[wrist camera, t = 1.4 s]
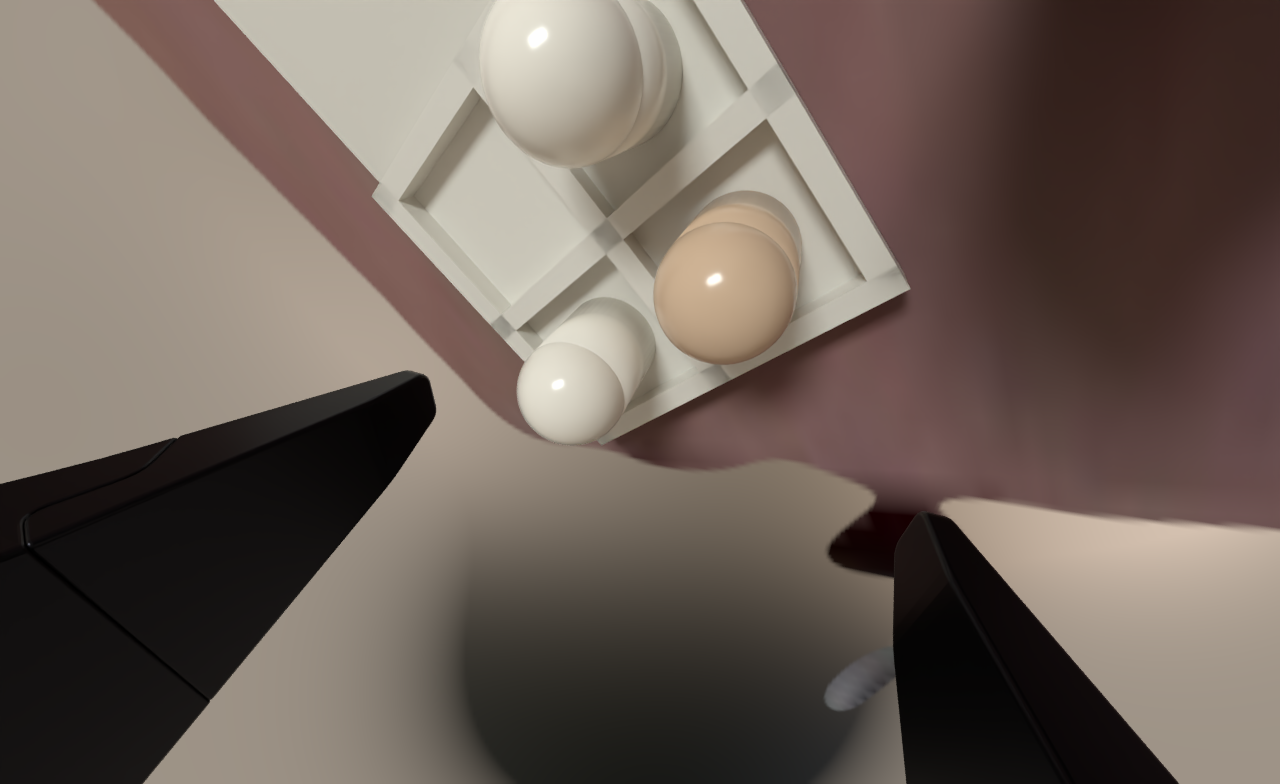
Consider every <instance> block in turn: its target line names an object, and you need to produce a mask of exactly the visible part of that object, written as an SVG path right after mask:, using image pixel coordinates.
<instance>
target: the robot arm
mask: <svg viewBox="0 0 1280 784" xmlns="http://www.w3.org/2000/svg"><path fill="white" fill-rule="evenodd" d="M435 414H436V404H435V400H434V396H433V392H432V388H431V384H430V380H429V379H428V377H427V376H425V375H424V374H420V373H417V372H413V371H402V372H398V373H395V374H392V375H388V376H384V377H381V378H378V379H374V380H371V381H367V382H364V383H360V384H357V385H353V386H350V387H347V388H343V389H340V390H337V391H333V392H330V393H326V394H323V395H319V396H316V397H312V398H309V399H306V400H302V401H299V402H295V403H292V404H289V405H285V406H282V407H278V408H275V409H272V410H268V411H264V412H261V413H258V414H254V415H251V416H247V417H244V418H240V419H237V420H233V421H230V422H227V423H224V424H220V425H216V426H213V427H209V428H206V429H203V430H199V431H196V432H192V433H189V434H185V435H182V436H180V437H179V438H178V439H177V438H172V439H168V440H164V441H161V442H158V443H154V444H151V445H148V446H144V447H140V448H137V449H133V450H130V451H126V452H122V453H119V454H115V455H112V456H108V457H105V458H102V459H97V460H94V461H90V462H86V463H82V464H78V465H74V466H70V467H66V468H62V469H59V470H55V471H51V472H47V473H43V474H39V475H35V476H31V477H27V478H23V479H18V480H15V481H10V482H6V483H3V484H0V784H143V783H144V782H145V780H146V779H147V778H148V777H149V776H150V774H151V773H152V772H153V771H154V769H155V768H156V767H157V766H158V765H159V763H160V762H161V761H162V760H163V759H164V757H165V756H166V755H167V754H168V753H169V751H170V750H171V749H172V748H173V746H174V745H175V744H176V743H177V741H178V740H179V739H180V738H181V737H182V735H183V734H184V733H185V732H186V731H187V729H188V728H189V727H190V726H191V725H192V723H193V722H194V721H195V720H196V719H197V717H198V716H199V715H200V714H201V712H202V711H203V710H204V709H205V708H206V706H207V705H208V704H209V703H210V700H211V699H212V698H213V697H214V696H215V695H216V694H217V693H218V691H219V690H220V689H221V688H222V686H223V685H224V684H225V683H226V682H227V680H228V679H229V678H230V677H231V676H232V674H233V673H234V672H235V671H236V669H237V668H238V667H239V666H240V665H241V663H242V662H243V661H244V660H245V659H246V657H247V656H248V655H249V654H250V653H251V651H252V650H253V649H254V647H256V645H257V644H258V643H259V642H260V641H261V639H262V638H263V637H264V636H265V634H266V633H267V632H268V631H269V630H270V628H271V627H272V626H273V625H274V624H275V622H276V621H277V620H278V619H279V617H280V616H281V615H282V614H283V613H284V611H285V610H286V609H287V608H288V607H289V605H290V604H291V603H292V602H293V600H294V599H295V598H296V597H297V596H298V594H299V593H300V592H301V591H302V590H303V588H304V587H305V586H306V585H307V584H308V582H309V581H310V580H311V579H312V578H313V576H314V575H315V574H316V573H317V571H318V570H319V569H320V568H321V567H322V565H323V564H324V563H325V562H326V560H327V559H328V558H329V557H330V555H331V554H332V553H333V552H334V551H335V550H336V548H337V547H338V546H339V545H340V544H341V542H342V541H343V540H344V539H345V538H346V536H347V535H348V534H349V533H350V531H351V530H352V529H353V528H354V527H355V525H356V524H357V523H358V522H359V521H360V519H361V518H362V517H363V516H364V515H365V513H366V512H367V511H368V509H369V508H370V507H371V506H372V505H373V504H374V502H375V501H376V500H377V499H378V498H379V496H380V495H381V494H382V493H383V491H384V490H385V489H386V488H387V486H388V485H389V484H390V483H391V481H392V480H393V479H394V477H395V476H396V474H397V473H398V472H399V470H400V469H401V467H402V466H403V464H404V463H405V461H406V460H407V458H408V457H409V455H410V454H411V452H412V451H413V449H414V448H415V446H416V445H417V443H418V442H419V440H420V439H421V437H422V436H423V434H424V433H425V431H426V430H427V428H428V427H429V425H430V424H431V422H432V421H433V419H434V417H435ZM893 651H894V665H895V675H896V685H897V694H898V704H899V714H900V723H901V733H902V744H903V754H904V764H905V774H906V783H907V784H1179V783H1178V782H1177V781H1176V779H1175V778H1174V777H1173V776H1172V775H1171V774H1170V772H1169V771H1168V770H1167V769H1166V768H1165V767H1164V765H1163V764H1162V763H1161V762H1160V761H1159V760H1158V758H1157V757H1156V756H1155V755H1154V754H1153V753H1152V751H1151V750H1150V749H1149V748H1148V747H1147V746H1146V745H1145V743H1144V742H1143V741H1142V740H1141V739H1140V738H1139V736H1138V735H1137V734H1136V733H1135V732H1134V731H1133V729H1132V728H1131V727H1130V726H1129V725H1128V724H1127V722H1126V721H1125V720H1124V719H1123V718H1122V717H1121V715H1120V714H1119V713H1118V712H1117V711H1116V710H1115V709H1114V707H1113V706H1112V705H1111V704H1110V703H1109V701H1108V700H1107V699H1106V698H1105V697H1104V696H1103V695H1102V693H1101V692H1100V691H1099V690H1098V689H1097V688H1096V686H1095V685H1094V684H1093V683H1092V682H1091V681H1090V679H1089V678H1088V677H1087V676H1086V675H1085V674H1084V672H1083V671H1082V670H1081V669H1080V668H1079V667H1078V665H1077V664H1076V663H1075V662H1074V661H1073V660H1072V659H1071V657H1070V656H1069V655H1068V654H1067V653H1066V652H1065V650H1064V649H1063V648H1062V647H1061V646H1060V645H1059V643H1058V642H1057V641H1056V640H1055V639H1054V638H1053V636H1052V635H1051V634H1050V633H1049V632H1048V631H1047V629H1046V628H1045V627H1044V626H1043V625H1042V624H1041V623H1040V621H1039V620H1038V619H1037V618H1036V617H1035V615H1034V614H1033V613H1032V612H1031V611H1030V610H1029V609H1028V607H1026V605H1025V604H1024V603H1023V602H1022V600H1020V598H1019V597H1018V596H1017V595H1016V594H1015V592H1014V591H1013V590H1012V589H1011V588H1010V586H1009V585H1008V584H1007V583H1006V582H1005V581H1004V580H1003V578H1002V577H1001V576H1000V575H999V574H998V572H997V571H996V570H995V569H994V568H993V567H992V566H991V564H990V563H989V562H988V561H987V560H986V559H985V557H984V556H983V555H982V554H981V553H980V552H979V550H978V549H977V548H976V547H975V546H974V545H973V543H972V542H971V541H970V540H969V539H968V538H967V536H966V535H965V534H964V533H963V532H962V531H961V529H960V528H959V527H958V526H957V525H956V524H955V523H954V522H953V521H952V520H951V519H950V518H948V517H945V516H941V515H938V514H934V513H930V512H927V511H922V512H919V513H918V514H917V515H916V516H915V517H914V519H913V520H912V522H911V523H910V525H909V526H908V528H907V529H906V531H905V532H904V534H903V535H902V537H901V538H900V539H899V541H898V543H897V546H896V549H895V562H894V611H893Z"/></svg>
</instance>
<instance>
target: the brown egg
mask: <svg viewBox="0 0 1280 784" xmlns="http://www.w3.org/2000/svg"><path fill="white" fill-rule="evenodd" d="M801 254H802V238H801V233H800V229H799V226H798V224H797V222H796V220H795V218H794V216H793V215H792V213H791V212H790V211H789V210H788V208H787V207H786V206H785V205H783V204H782V203H781V202H780V201H778V200H777V199H775V198H774V197H772V196H770V195H767V194H765V193H761V192H757V191H750V190H742V191H734V192H730V193H727V194H724V195H722V196H720V197H718V198H716V199H714V200H713V201H711V202H710V203H709V204H707V205H706V206H705V207H704V208H703V209H702V210H701V211H700V212H699V214H698V215H697V216H696V217H695V218H694V220H693V221H692V222H691V223H690V224H689V226H688V227H687V228H686V229H685V230H684V231H683V233H682V234H681V235H680V236H679V237H678V239H677V240H676V241H675V242H674V243H673V245H672V246H671V247H670V248H669V250H668V251H667V252H666V254H665V256H664V257H663V259H662V261H661V263H660V265H659V267H658V270H657V273H656V277H655V281H654V288H653V302H654V309H655V313H656V317H657V320H658V322H659V324H660V327H661V328H662V330H663V332H664V334H665V335H666V337H667V338H668V339H669V340H670V342H671V343H672V344H673V345H674V346H675V347H676V348H678V349H679V350H680V351H681V352H683V353H684V354H686V355H687V356H689V357H691V358H693V359H696V360H698V361H701V362H705V363H709V364H716V365H729V364H736V363H741V362H744V361H747V360H750V359H752V358H754V357H756V356H758V355H760V354H762V353H763V352H765V351H766V350H767V349H769V348H770V347H771V346H772V345H773V344H775V343H776V341H777V340H778V339H779V338H780V337H781V336H782V334H783V333H784V331H785V330H786V328H787V327H788V325H789V323H790V321H791V319H792V316H793V313H794V310H795V306H796V301H797V294H798V284H799V274H800V264H801Z"/></svg>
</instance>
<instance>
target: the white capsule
mask: <svg viewBox="0 0 1280 784" xmlns="http://www.w3.org/2000/svg"><path fill="white" fill-rule="evenodd" d="M655 351H656V342H655V337H654V333H653V331H652V328H651V326H650V325H649V323H648V321H647V320H646V319H645V317H644V316H643V315H642V314H641V313H640V312H639V311H638V310H637V309H635V308H634V307H633V306H631V305H630V304H628V303H626V302H624V301H621V300H619V299H615V298H610V297H598V298H593V299H590V300H588V301H586V302H584V303H583V304H581V305H580V306H579V307H578V308H577V309H576V310H575V311H574V312H573V313H572V314H571V315H570V316H569V317H568V318H567V319H566V320H565V321H564V322H563V323H562V324H561V325H560V326H559V327H558V328H557V329H556V330H555V331H554V332H553V333H552V334H551V335H550V336H549V337H548V338H547V339H546V340H545V341H544V342H543V343H542V344H541V345H539V346H538V347H537V348H536V349H535V350H534V351H533V353H532V354H531V355H530V356H529V357H528V358H527V360H526V361H525V363H524V365H523V367H522V369H521V371H520V374H519V377H518V382H517V399H518V404H519V407H520V410H521V413H522V415H523V417H524V419H525V420H526V422H527V423H528V424H529V426H530V427H531V428H532V429H533V430H534V431H535V432H536V433H538V434H539V435H540V436H542V437H543V438H545V439H547V440H549V441H552V442H554V443H557V444H562V445H572V446H573V445H582V444H587V443H590V442H593V441H595V440H597V439H599V438H601V437H602V436H604V435H605V434H607V433H608V432H609V431H610V430H611V429H612V428H613V427H614V426H615V425H616V423H617V422H618V421H619V419H620V418H621V416H622V414H623V412H624V411H625V409H626V407H627V405H628V404H629V402H630V400H631V398H632V397H633V395H634V393H635V391H636V390H637V388H638V386H639V384H640V383H641V381H642V379H643V377H644V376H645V374H646V372H647V370H648V369H649V367H650V365H651V363H652V361H653V359H654V356H655Z"/></svg>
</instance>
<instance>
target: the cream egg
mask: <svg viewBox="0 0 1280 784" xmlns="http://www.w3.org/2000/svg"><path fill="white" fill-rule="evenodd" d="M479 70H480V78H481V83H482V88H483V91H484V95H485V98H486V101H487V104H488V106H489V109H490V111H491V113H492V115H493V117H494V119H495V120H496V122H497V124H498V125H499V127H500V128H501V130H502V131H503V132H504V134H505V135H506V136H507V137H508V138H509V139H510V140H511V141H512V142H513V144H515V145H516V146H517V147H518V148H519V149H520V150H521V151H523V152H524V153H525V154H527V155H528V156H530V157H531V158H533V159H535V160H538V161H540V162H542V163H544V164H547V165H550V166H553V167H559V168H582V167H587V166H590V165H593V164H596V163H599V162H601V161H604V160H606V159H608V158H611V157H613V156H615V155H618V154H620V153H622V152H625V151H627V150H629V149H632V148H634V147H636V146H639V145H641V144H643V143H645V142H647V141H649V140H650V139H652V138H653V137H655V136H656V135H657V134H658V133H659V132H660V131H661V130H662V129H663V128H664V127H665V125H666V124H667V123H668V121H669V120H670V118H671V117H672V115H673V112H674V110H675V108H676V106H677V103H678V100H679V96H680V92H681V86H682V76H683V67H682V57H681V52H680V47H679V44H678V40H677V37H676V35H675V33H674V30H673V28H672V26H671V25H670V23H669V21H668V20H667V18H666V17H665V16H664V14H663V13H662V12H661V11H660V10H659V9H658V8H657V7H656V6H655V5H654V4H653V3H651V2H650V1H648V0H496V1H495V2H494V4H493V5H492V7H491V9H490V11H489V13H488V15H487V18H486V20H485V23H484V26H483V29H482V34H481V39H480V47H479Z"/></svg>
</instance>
